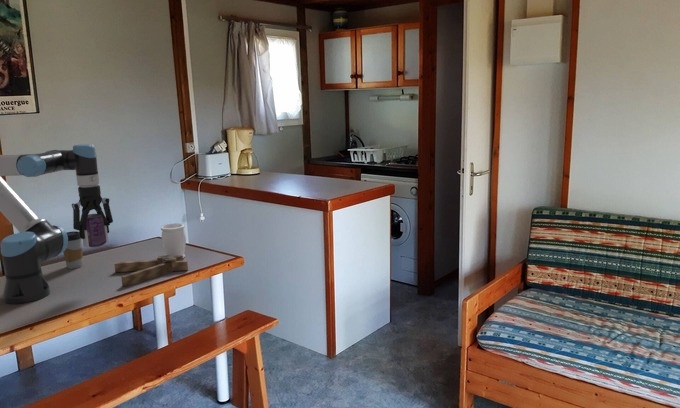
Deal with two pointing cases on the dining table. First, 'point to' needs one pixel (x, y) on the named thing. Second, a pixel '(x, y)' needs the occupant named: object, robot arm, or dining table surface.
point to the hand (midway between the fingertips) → (96, 244)
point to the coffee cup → (73, 250)
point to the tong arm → (150, 264)
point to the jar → (174, 239)
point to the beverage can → (95, 230)
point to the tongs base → (148, 272)
